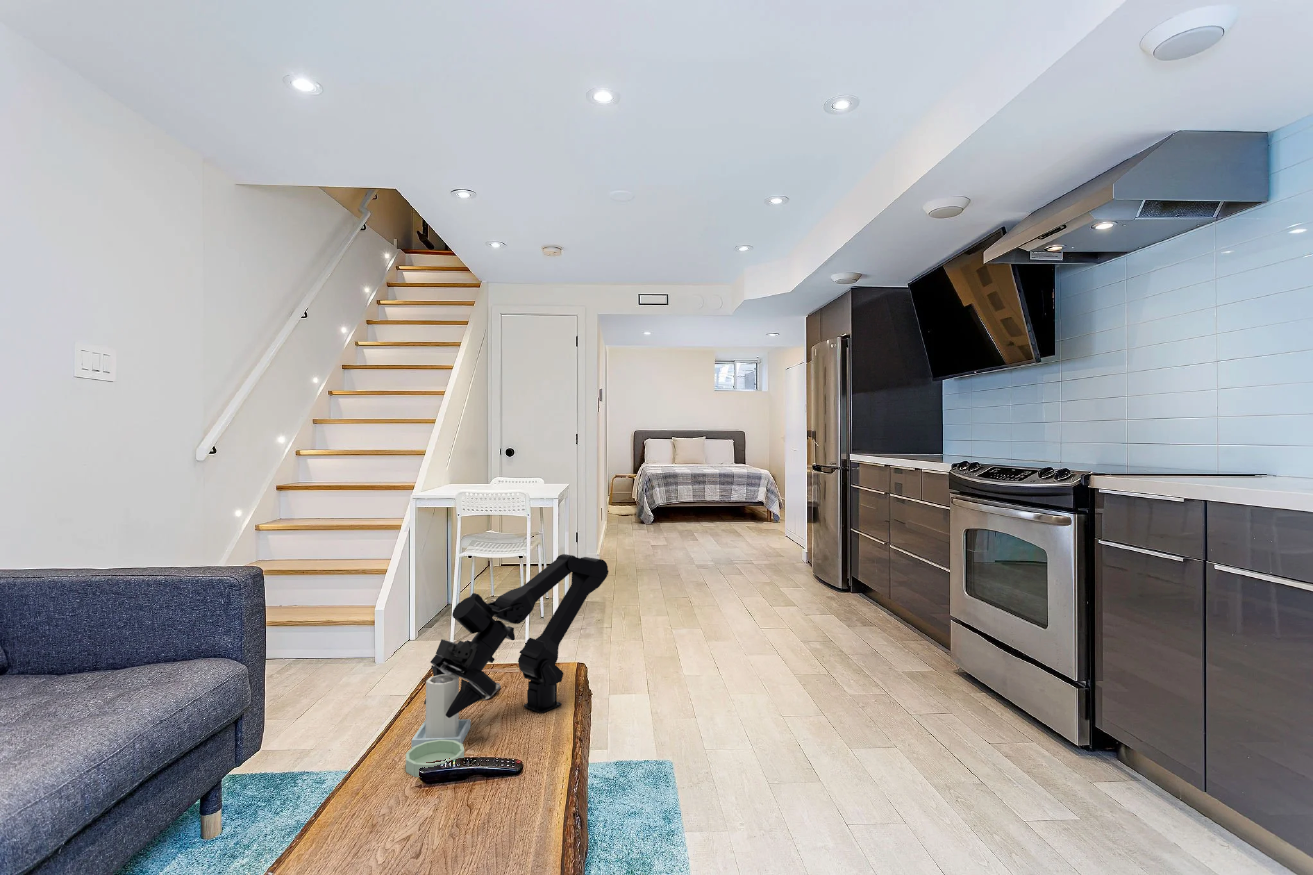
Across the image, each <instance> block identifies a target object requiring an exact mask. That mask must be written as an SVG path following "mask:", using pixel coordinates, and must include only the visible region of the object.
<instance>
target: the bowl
mask: <svg viewBox="0 0 1313 875" xmlns="http://www.w3.org/2000/svg"><path fill="white" fill-rule="evenodd" d="M449 758H450V759H449ZM458 758H464V759H465V748H464V744H463V743H462V744H461V743H459V742H457V741H455V740H434V741H428V742H424V743H422V744H419V745H417V746H414V747H412V748H411V747H410V749H409V750H408V751H407V752H405V773H407V774H409V775H410V776H413V777H415V778H421V777H420V776H419V769H420V768H422V767H423V768H424V767H425V768H428V767H434V766H437V765H440V764H445V763H446V761H447V762H449V761H451V760H455V759H458ZM445 759H447V760H445ZM436 760H445V761H441V762H435V763H426V762H433V761H436Z"/></svg>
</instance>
